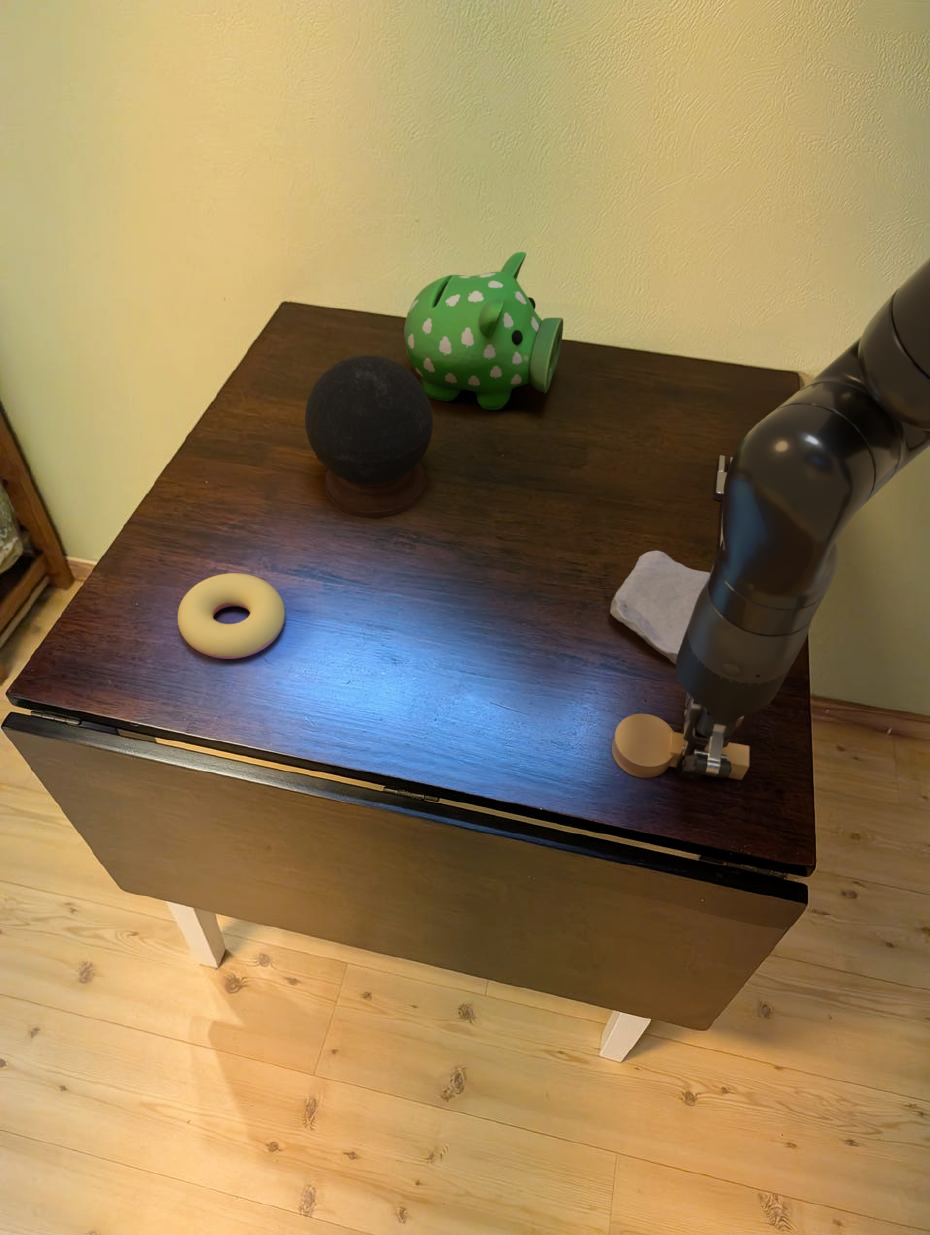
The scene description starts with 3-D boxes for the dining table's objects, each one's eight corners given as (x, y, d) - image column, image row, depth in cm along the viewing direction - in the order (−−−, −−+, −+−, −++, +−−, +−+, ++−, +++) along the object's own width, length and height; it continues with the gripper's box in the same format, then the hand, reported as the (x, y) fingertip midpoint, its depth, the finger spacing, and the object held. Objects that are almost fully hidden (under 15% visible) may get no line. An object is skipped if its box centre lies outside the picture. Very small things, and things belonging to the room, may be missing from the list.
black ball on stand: (430, 526, 90) (426, 411, 78) (307, 522, 90) (285, 406, 78) (438, 446, 98) (435, 331, 86) (325, 442, 98) (307, 327, 87)
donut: (253, 687, 79) (305, 610, 83) (246, 667, 75) (301, 587, 79) (162, 641, 80) (218, 567, 85) (151, 619, 76) (210, 543, 80)
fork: (740, 557, 87) (743, 549, 86) (709, 551, 88) (712, 543, 87) (744, 467, 96) (747, 459, 95) (716, 462, 97) (718, 454, 96)
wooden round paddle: (742, 744, 73) (749, 729, 72) (741, 797, 70) (749, 783, 68) (614, 720, 75) (618, 705, 73) (608, 771, 72) (612, 757, 70)
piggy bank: (538, 435, 99) (549, 321, 88) (392, 409, 102) (384, 294, 91) (561, 367, 108) (574, 254, 96) (425, 344, 111) (422, 232, 99)
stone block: (709, 692, 79) (752, 610, 82) (715, 669, 75) (760, 584, 78) (595, 639, 83) (640, 564, 87) (595, 615, 79) (643, 537, 83)
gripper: (801, 729, 54) (731, 842, 68) (794, 573, 63) (733, 701, 76) (683, 708, 55) (637, 824, 69) (692, 557, 64) (650, 686, 77)
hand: (688, 759), depth 72 cm, fingers closed on wooden round paddle, 2 cm apart
